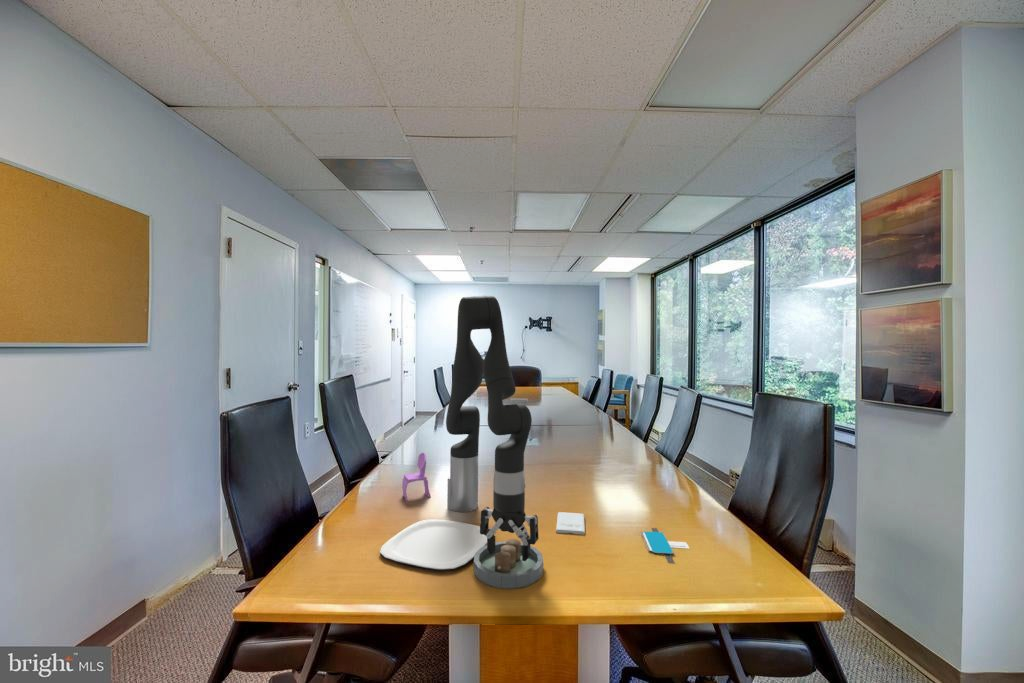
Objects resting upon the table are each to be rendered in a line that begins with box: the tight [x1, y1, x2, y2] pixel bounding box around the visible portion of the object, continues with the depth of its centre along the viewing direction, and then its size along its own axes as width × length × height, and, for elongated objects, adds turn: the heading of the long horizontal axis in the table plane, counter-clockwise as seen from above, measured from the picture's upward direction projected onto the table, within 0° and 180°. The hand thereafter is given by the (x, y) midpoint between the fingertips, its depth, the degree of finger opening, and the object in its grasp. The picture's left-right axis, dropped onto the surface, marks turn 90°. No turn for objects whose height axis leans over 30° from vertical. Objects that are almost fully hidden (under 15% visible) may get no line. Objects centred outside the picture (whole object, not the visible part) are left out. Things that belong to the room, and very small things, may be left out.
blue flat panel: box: [640, 527, 691, 564], centre depth 113 cm, size 20×12×2 cm, turn 173°
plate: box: [379, 518, 487, 571], centre depth 111 cm, size 25×25×2 cm
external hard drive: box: [555, 511, 586, 536], centre depth 125 cm, size 2×8×12 cm
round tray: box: [473, 540, 544, 590], centre depth 100 cm, size 16×16×3 cm
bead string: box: [495, 538, 522, 573], centre depth 100 cm, size 4×11×4 cm, turn 159°
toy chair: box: [401, 452, 432, 502], centre depth 147 cm, size 8×9×15 cm
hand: (508, 556), depth 100 cm, fingers open, 8 cm apart
